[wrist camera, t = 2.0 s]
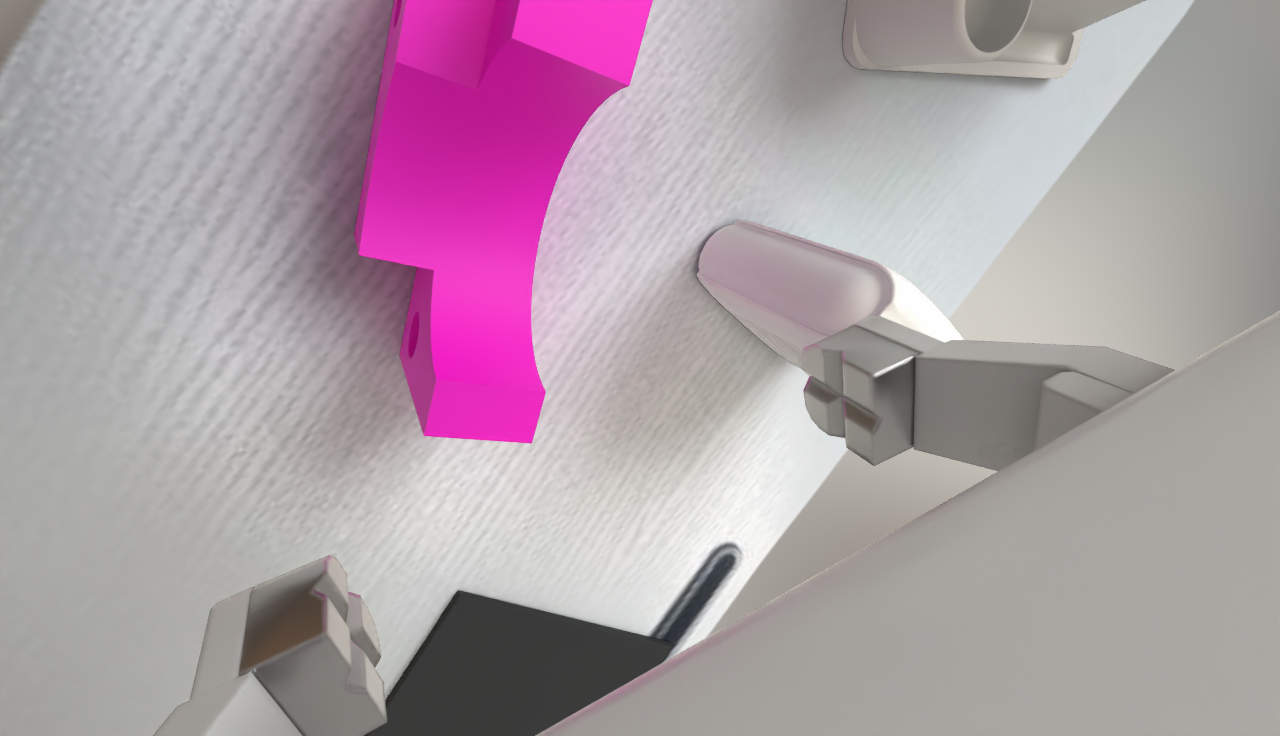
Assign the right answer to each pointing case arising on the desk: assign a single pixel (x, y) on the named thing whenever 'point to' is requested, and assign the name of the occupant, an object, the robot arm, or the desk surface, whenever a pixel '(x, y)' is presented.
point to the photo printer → (807, 289)
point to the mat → (511, 671)
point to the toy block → (481, 185)
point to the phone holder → (971, 35)
